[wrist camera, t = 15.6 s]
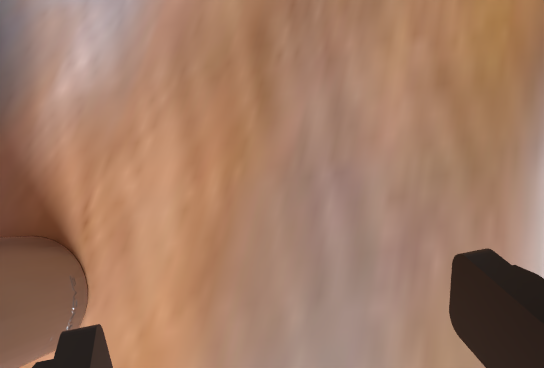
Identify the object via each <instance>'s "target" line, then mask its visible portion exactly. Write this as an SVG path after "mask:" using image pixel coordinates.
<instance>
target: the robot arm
mask: <svg viewBox="0 0 544 368" xmlns="http://www.w3.org/2000/svg"><path fill="white" fill-rule="evenodd" d="M87 292H88V289H87V284H86V279H85V275H84V273H83V270H82V268H81V266H80V264H79V262H78V261H77V260H76V258H75V257H74V255H73V254H72V253H71V252H70V251H69V250H68V249H66V248H65V247H64V246H63V245H61V244H59V243H57V242H56V241H54V240H51V239H48V238H44V237H36V236H23V237H0V368H19V367H21V366H24V365H26V364H28V363H30V362H32V361H34V360H36V359H39V358H41V357H43V356H45V355H47V354H49V353H51V352H53V351H55V350H56V352H55V356H54V359H51V360H46V361H41V362H37V363H36V364H35V365H34V366H33V367H32V368H113V366H112V362H111V359H110V355H109V351H108V347H107V343H106V340H105V336H104V332H103V329H102V327H101V325H100V324H98V325H93V326H88V327H83V328H79V327H80V325H81V322H82V320H83V318H84V315H85V311H86V306H87ZM449 313H450V319H451V322H452V325H453V327H454V330H455V331H456V333H457V335H458V336H459V337H460V338H461V340H462V341H463V342H464V343H465V344H466V345H467V346H468V348H469V349H470V350H471V351H472V352H473V353H474V354H475V356H476V357H477V358H478V359H479V360H480V361H481V363H482V364H483V365H484V366H485V367H486V368H544V279H543V278H542V277H540V276H539V275H537V274H535V273H533V272H530V271H528V270H526V269H523V268H521V267H519V266H516V265H511V264H509V263H508V262H507V261H506V260H504V259H503V258H502V257H500V256H499V255H498V254H497V253H495V252H494V251H493V250H491V249H482V250H477V251H472V252H467V253H462V254H457V255H456V256H455V257H454V259H453V262H452V275H451V290H450V305H449Z"/></svg>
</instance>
